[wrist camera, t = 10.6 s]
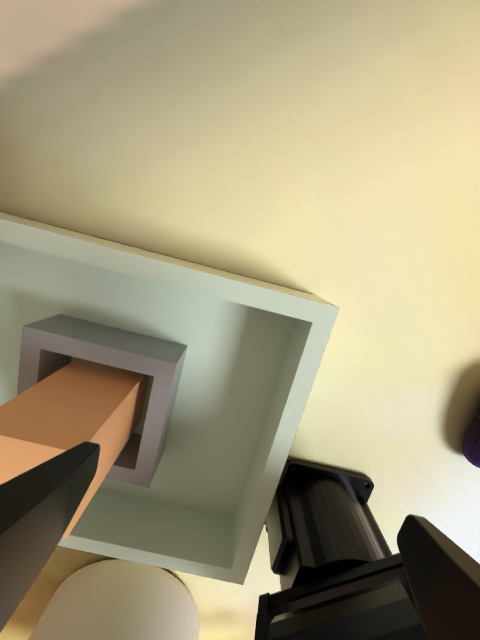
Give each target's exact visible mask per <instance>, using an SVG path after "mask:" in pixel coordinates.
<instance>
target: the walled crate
mask: <svg viewBox="0 0 480 640" xmlns="http://www.w3.org/2000/svg"><path fill="white" fill-rule="evenodd" d="M338 310H339V307H337V306H335V305H333V304H331V303H329V302H328V301H326V300H324V299H322V298H320V297H318V296H316V295H314V294H310V293H306V292H302V291H299V290H295V289H291V288H287V287H284V286H280V285H276V284H272V283H268V282H265V281H261V280H257V279H253V278H250V277H246V276H242V275H238V274H234V273H231V272H227V271H223V270H219V269H216V268H212V267H208V266H204V265H200V264H197V263H193V262H189V261H185V260H181V259H178V258H174V257H170V256H166V255H163V254H159V253H155V252H151V251H147V250H144V249H140V248H136V247H132V246H129V245H125V244H121V243H117V242H113V241H110V240H106V239H102V238H98V237H95V236H91V235H87V234H83V233H79V232H76V231H72V230H68V229H64V228H61V227H57V226H53V225H49V224H45V223H42V222H38V221H34V220H30V219H26V218H23V217H19V216H15V215H11V214H8V213H4V212H0V406H2V405H3V404H5V403H6V402H8V401H10V400H11V399H13V398H15V397H16V396H18V395H19V394H21V393H23V392H24V391H26V390H27V389H29V388H31V387H32V386H34V385H36V384H37V383H39V382H40V381H42V380H44V379H45V378H47V377H48V376H50V375H52V374H53V373H55V372H56V371H58V370H60V369H61V368H63V367H65V366H66V365H68V364H69V363H71V362H73V361H74V360H76V359H77V358H80V359H84V360H89V361H93V362H97V363H101V364H105V365H109V366H113V367H117V368H121V369H126V370H130V371H134V372H138V373H142V374H146V375H149V380H148V385H147V390H146V395H145V400H144V405H143V410H142V415H141V420H140V422H139V423H138V425H137V427H136V428H135V430H134V432H133V433H132V435H131V436H130V438H129V440H128V441H127V443H126V444H125V446H124V448H123V449H122V451H121V452H120V454H119V456H118V457H117V459H116V460H115V462H114V464H113V465H112V467H111V468H110V470H109V472H108V473H107V475H106V476H105V478H104V480H103V481H102V483H101V484H100V486H99V488H98V489H97V491H96V492H95V494H94V496H93V497H92V499H91V500H90V502H89V504H88V505H87V507H86V508H85V510H84V512H83V513H82V515H81V516H80V518H79V520H78V521H77V523H76V524H75V526H74V528H73V529H72V531H71V532H70V534H69V536H68V537H67V539H64V538H61V540H60V542H59V543H58V545H57V546H61V547H66V548H71V549H75V550H80V551H85V552H90V553H94V554H99V555H104V556H108V557H113V558H118V559H123V560H127V561H132V562H137V563H142V564H146V565H151V566H156V567H161V568H165V569H170V570H175V571H179V572H184V573H189V574H194V575H198V576H203V577H208V578H213V579H217V580H222V581H227V582H232V583H236V584H241V585H243V583H244V580H245V578H246V575H247V572H248V569H249V566H250V563H251V560H252V557H253V555H254V552H255V549H256V546H257V543H258V540H259V537H260V534H261V532H262V529H263V526H264V523H265V520H266V517H267V514H268V511H269V509H270V506H271V503H272V500H273V497H274V494H275V491H276V489H277V486H278V483H279V480H280V477H281V474H282V471H283V468H284V466H285V463H286V460H287V457H288V454H289V451H290V448H291V445H292V443H293V440H294V437H295V434H296V431H297V428H298V425H299V422H300V420H301V417H302V414H303V411H304V408H305V405H306V402H307V399H308V397H309V394H310V391H311V388H312V385H313V382H314V379H315V377H316V374H317V371H318V368H319V365H320V362H321V359H322V356H323V354H324V351H325V348H326V345H327V342H328V339H329V336H330V333H331V331H332V328H333V325H334V322H335V319H336V316H337V313H338Z"/></svg>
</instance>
